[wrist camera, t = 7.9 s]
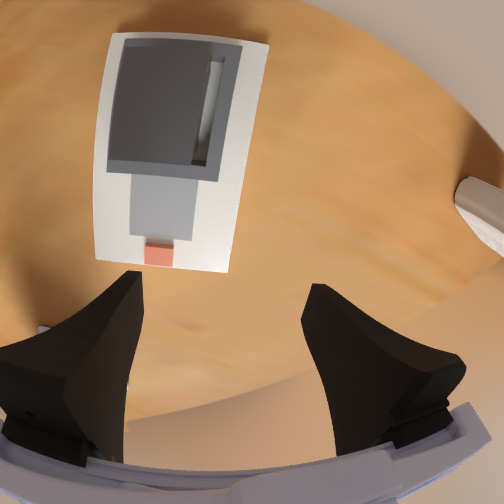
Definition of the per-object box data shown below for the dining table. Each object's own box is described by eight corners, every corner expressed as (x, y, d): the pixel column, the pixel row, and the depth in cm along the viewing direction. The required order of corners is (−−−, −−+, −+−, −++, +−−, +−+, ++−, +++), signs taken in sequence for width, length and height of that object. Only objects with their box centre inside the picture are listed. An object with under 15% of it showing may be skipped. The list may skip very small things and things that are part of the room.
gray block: (140, 144, 16) (108, 159, 10) (152, 67, 13) (125, 46, 8) (196, 149, 16) (190, 166, 11) (210, 72, 14) (210, 50, 9)
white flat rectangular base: (99, 253, 20) (86, 273, 17) (117, 36, 13) (102, 25, 10) (226, 265, 22) (229, 288, 19) (266, 48, 15) (276, 37, 12)
